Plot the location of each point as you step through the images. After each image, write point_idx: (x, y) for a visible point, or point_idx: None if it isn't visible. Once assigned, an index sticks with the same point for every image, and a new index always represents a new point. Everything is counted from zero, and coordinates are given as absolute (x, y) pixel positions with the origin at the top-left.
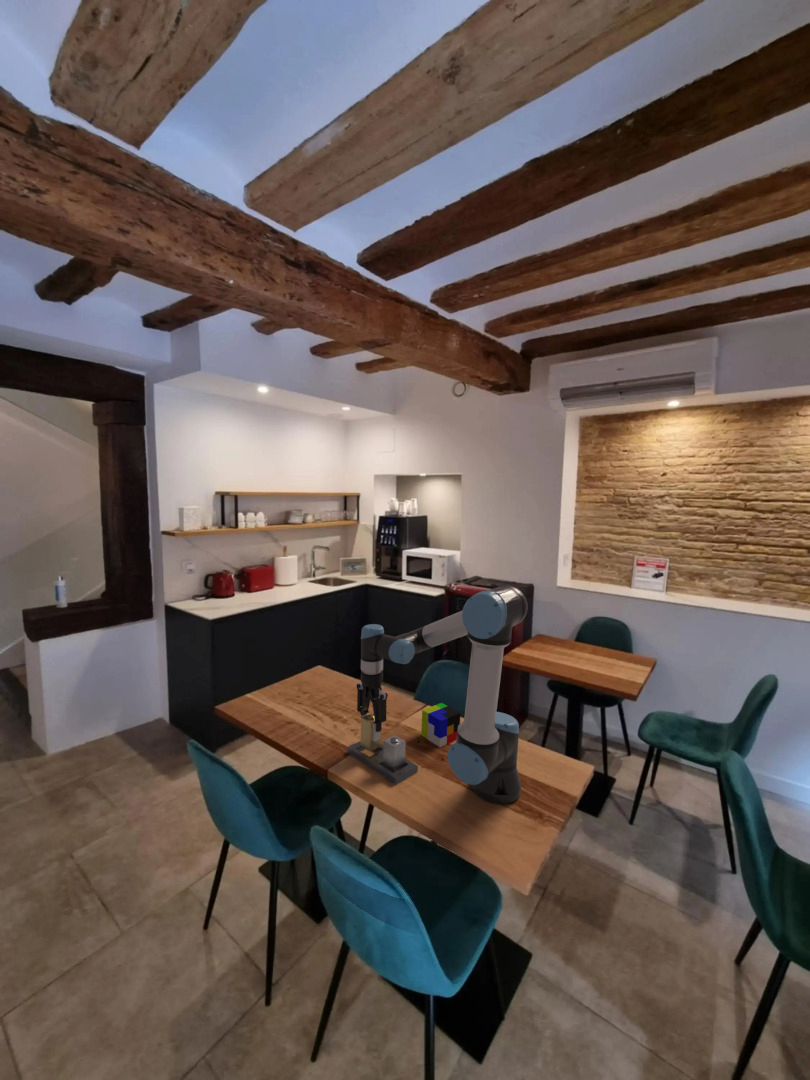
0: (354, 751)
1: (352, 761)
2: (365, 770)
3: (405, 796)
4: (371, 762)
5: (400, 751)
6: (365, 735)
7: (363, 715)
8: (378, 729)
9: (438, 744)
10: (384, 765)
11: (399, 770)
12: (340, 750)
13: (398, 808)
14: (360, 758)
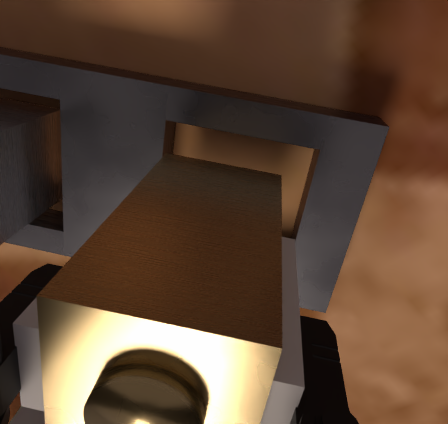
0: (299, 111)
1: (275, 51)
2: (132, 25)
3: None
4: (102, 76)
5: None
6: (205, 207)
7: (300, 409)
8: (22, 284)
9: (26, 414)
10: (31, 113)
11: None
12: (445, 106)
13: None
14: (227, 92)
